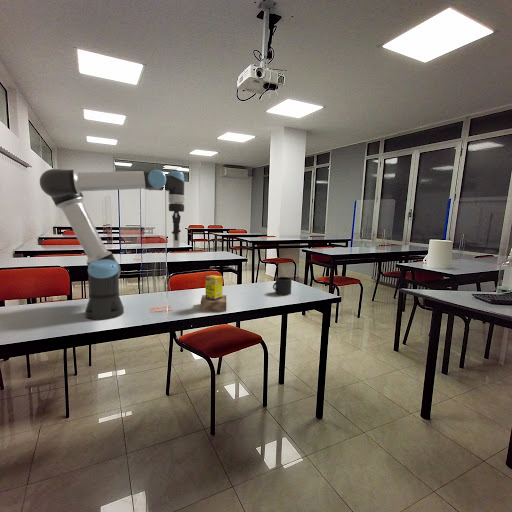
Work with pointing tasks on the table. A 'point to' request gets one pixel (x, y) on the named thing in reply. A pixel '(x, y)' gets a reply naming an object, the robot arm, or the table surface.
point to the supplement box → (214, 287)
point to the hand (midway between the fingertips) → (176, 245)
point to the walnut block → (213, 304)
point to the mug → (282, 285)
